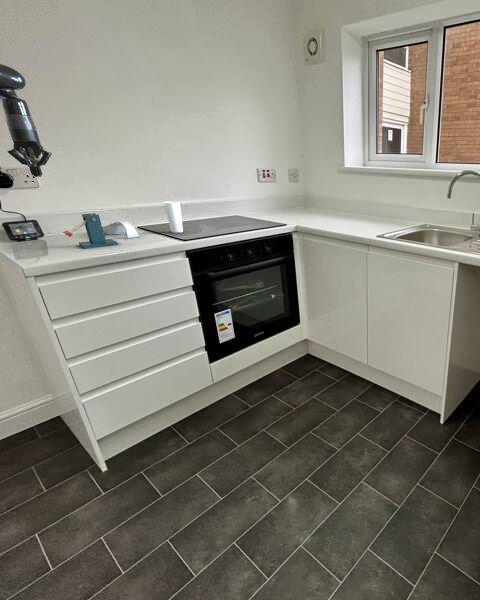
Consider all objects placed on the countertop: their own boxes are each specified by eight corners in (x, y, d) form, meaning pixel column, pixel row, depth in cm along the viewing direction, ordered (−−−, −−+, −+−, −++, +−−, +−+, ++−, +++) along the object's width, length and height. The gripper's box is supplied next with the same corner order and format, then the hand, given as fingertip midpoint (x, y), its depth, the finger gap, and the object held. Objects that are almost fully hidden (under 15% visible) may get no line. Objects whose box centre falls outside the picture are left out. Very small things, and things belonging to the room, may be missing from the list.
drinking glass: (183, 230, 184) (178, 201, 178) (186, 232, 179) (180, 202, 174) (168, 231, 180) (162, 201, 174) (170, 234, 175) (164, 203, 170)
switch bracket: (85, 248, 142) (76, 216, 138) (79, 245, 147) (69, 214, 143) (118, 244, 151) (110, 214, 146) (110, 241, 156) (103, 212, 151)
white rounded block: (94, 233, 169) (90, 218, 166) (122, 230, 179) (118, 216, 176) (120, 240, 159) (115, 224, 156) (147, 236, 168) (144, 221, 166)
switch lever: (71, 238, 139) (65, 233, 138) (67, 235, 143) (61, 231, 141) (99, 220, 145) (94, 215, 143) (94, 218, 148) (89, 213, 147)
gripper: (-8, 126, 128) (10, 176, 134) (38, 129, 132) (53, 177, 138) (6, 128, 134) (22, 175, 141) (49, 130, 139) (63, 176, 145)
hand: (37, 176), depth 139 cm, fingers closed
